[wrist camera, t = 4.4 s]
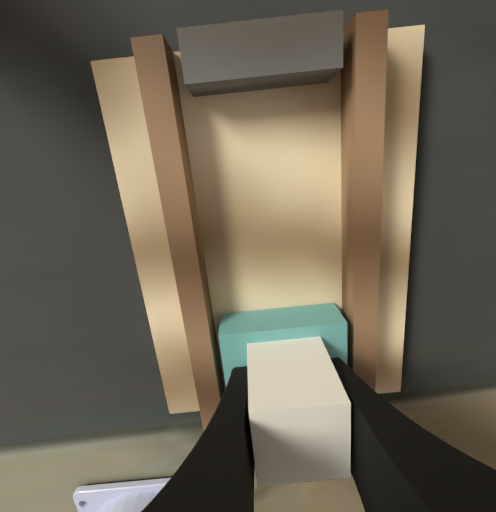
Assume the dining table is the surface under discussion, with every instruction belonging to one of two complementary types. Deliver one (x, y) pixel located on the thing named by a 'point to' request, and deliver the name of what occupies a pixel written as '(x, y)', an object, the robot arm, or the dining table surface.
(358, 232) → the track
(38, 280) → the dining table surface
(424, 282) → the dining table surface
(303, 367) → the slider
